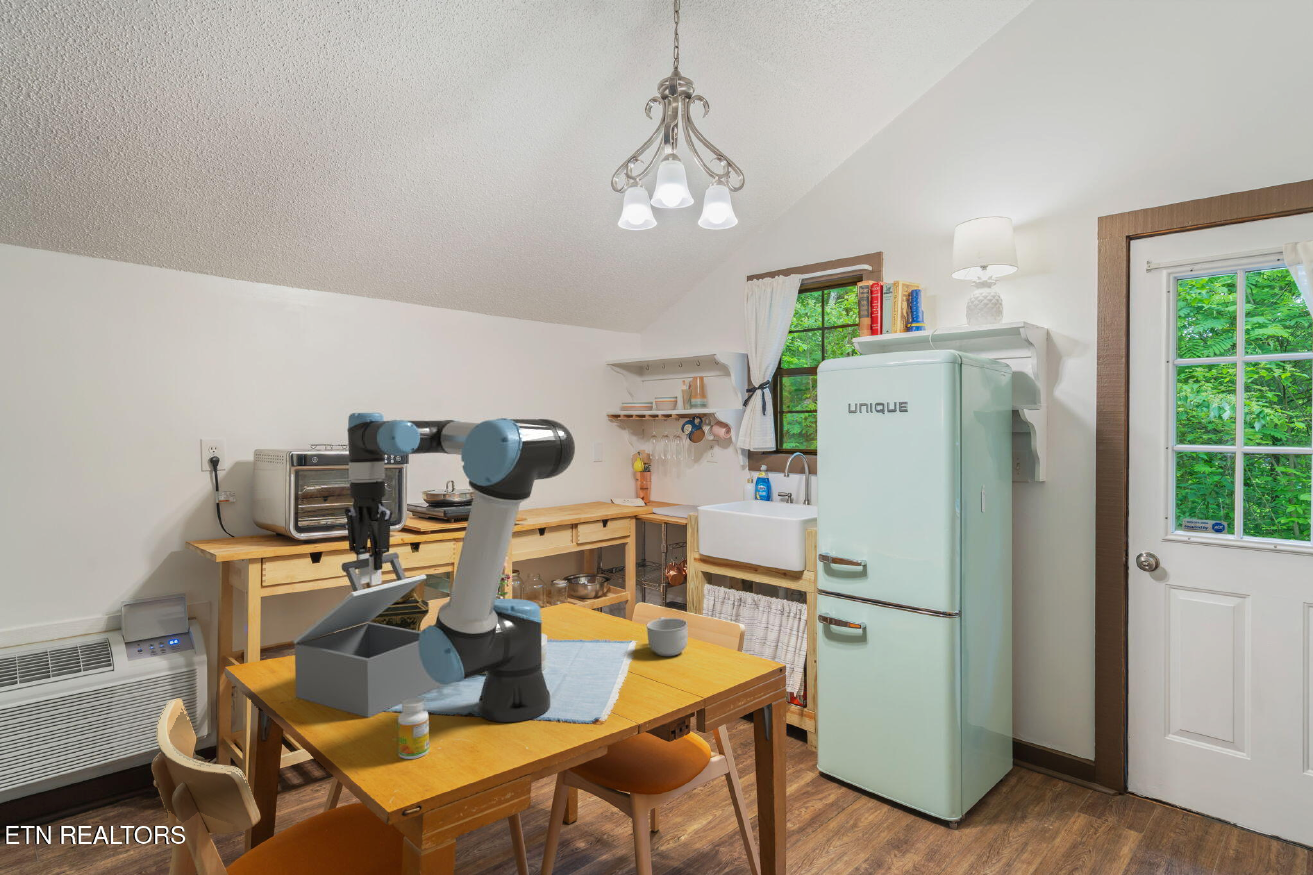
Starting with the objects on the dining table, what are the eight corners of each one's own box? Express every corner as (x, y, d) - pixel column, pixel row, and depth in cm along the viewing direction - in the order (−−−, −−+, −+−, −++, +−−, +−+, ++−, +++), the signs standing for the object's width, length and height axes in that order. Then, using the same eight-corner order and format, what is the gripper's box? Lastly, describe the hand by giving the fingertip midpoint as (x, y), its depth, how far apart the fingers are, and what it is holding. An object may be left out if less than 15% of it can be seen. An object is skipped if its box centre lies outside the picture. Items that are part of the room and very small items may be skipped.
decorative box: (429, 636, 206) (428, 568, 206) (429, 645, 197) (427, 574, 197) (354, 643, 200) (353, 573, 200) (350, 653, 191) (349, 580, 191)
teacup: (688, 659, 184) (688, 628, 183) (646, 659, 184) (646, 628, 184) (686, 642, 197) (686, 614, 197) (647, 643, 198) (647, 614, 197)
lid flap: (426, 577, 168) (411, 544, 170) (353, 596, 150) (338, 559, 152) (369, 621, 178) (355, 590, 180) (294, 643, 160) (280, 608, 162)
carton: (440, 686, 166) (439, 635, 166) (368, 717, 149) (367, 660, 149) (370, 669, 178) (369, 622, 178) (295, 697, 160) (294, 644, 160)
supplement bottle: (393, 753, 133) (392, 701, 132) (420, 743, 136) (419, 693, 136) (406, 762, 129) (405, 709, 129) (434, 752, 133) (433, 701, 132)
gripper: (405, 480, 161) (408, 583, 162) (357, 478, 169) (360, 577, 170) (378, 482, 155) (380, 590, 155) (329, 481, 163) (332, 583, 163)
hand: (370, 583), depth 162 cm, fingers open, 3 cm apart
